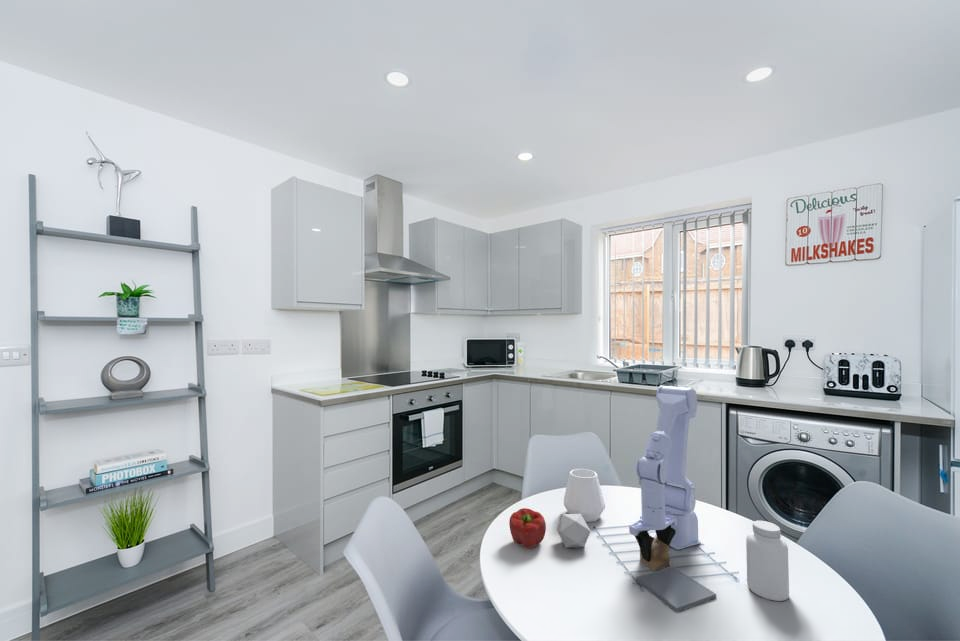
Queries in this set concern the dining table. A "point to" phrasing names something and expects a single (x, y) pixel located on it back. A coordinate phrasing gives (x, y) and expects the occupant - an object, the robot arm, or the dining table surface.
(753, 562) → the pill bottle
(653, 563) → the tan cube
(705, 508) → the dining table surface
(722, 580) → the dining table surface
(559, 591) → the dining table surface
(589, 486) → the white vase
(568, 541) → the die
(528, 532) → the vegetable
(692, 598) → the slate coaster
